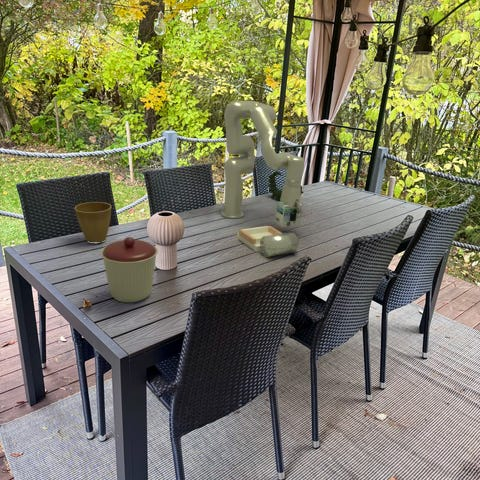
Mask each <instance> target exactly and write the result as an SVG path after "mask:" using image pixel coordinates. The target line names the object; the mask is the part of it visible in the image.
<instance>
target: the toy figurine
mask: <svg viewBox="0 0 480 480" xmlns="http://www.w3.org/2000/svg"><path fill="white" fill-rule="evenodd" d="M278 175H279V176H280V177H281V176H282V173H281V172H280V171H279V170H275V171H274V172H273V173H271V174H270V175H269V176H268V178H269V179H268V185H267V187H269V189H268V190H267V192H268V193H272V194H271V196H270V198H271V199H274V198H275V202H280V198H281V194H282V189H278V187H277V182H276V177H277V176H278ZM304 193H305V192H304V191H303V190H302V193H301V195H302V194H304Z"/></svg>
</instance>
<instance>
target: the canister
mask: <svg viewBox="0 0 480 480" xmlns="http://www.w3.org/2000/svg"><path fill="white" fill-rule="evenodd" d="M158 252H159V251H158V248H157V246H155V245H154V244H152V243H150V242H148V241H144V240H139V239H134V238H133V237H130V236H129V237H128V236H127V237H125V238H124V239H123V240H122V239H121V240H118V241H115V242H111V243H110V244H108V245H105V246H104V247H103V248H102V249H101V251H100V256H101V257H102V259H103V263H104V268H105V273H106V279H107V283H108V284H107V285H108V289H109V292H110V294H111V296H112V297H113V298H114V299H115V300H116V301H119V302H120V303H121V302H122V303H135V302H140V301H143V300H145V299H146V298H148V297H149V296H150V293H151V291H152V288H153V284H154V283H153V282H154V274H155V264H156V257H157V254H158Z"/></svg>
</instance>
